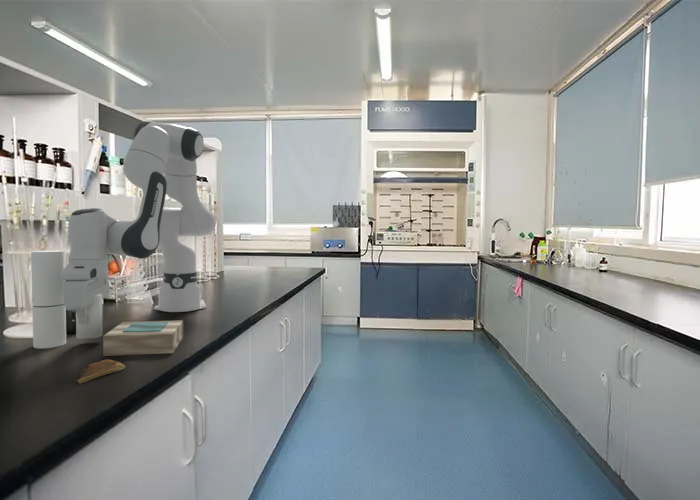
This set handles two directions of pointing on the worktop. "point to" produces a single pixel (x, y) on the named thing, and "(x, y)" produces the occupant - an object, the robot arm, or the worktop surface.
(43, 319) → the cylindrical container
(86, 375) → the shard
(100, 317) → the white bottle
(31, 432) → the worktop surface
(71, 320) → the supplement bottle
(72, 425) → the worktop surface
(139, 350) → the birch plinth
